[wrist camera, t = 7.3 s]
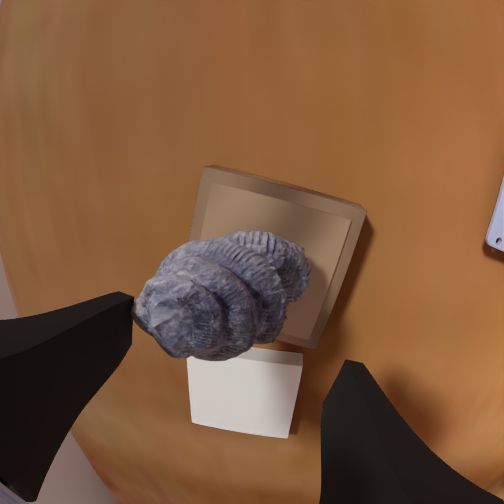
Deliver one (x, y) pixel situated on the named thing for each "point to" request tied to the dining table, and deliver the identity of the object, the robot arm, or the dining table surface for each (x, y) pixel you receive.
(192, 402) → the ceramic tile
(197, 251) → the seashell
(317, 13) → the dining table surface
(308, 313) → the walnut base
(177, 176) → the dining table surface
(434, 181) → the dining table surface
